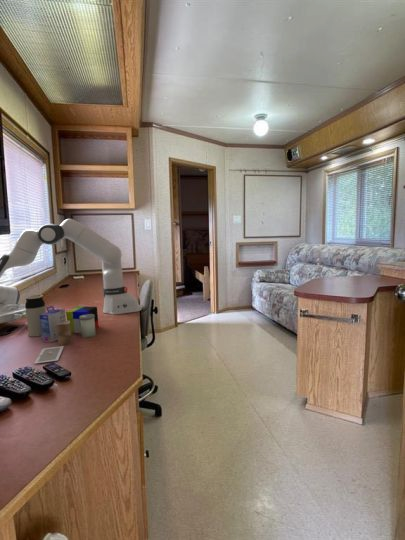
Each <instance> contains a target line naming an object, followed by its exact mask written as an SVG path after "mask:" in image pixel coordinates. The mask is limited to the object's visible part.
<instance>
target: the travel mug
mask: <svg viewBox="0 0 405 540" xmlns="http://www.w3.org/2000/svg"><path fill="white" fill-rule="evenodd" d="M43 298H44V295H43V294H33V295H28V296H25V297H24V299H25V300H26V302H25V303H24V304H25V308H26V317H25V318H26V325H27V332H28V334H27V335H28V336H30V337H40V336H42V330H41V323H40V316H39V315H41V314H44V313H46V311H47V309H46V303H45V302H46V301H44V299H43Z"/></svg>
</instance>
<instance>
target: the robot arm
mask: <svg viewBox="0 0 405 540" xmlns="http://www.w3.org/2000/svg"><path fill="white" fill-rule="evenodd" d="M63 239H67V240H69V241H71V242H72V243H74V244H76V245H77V246H78V247H81V248H82V249H84V250H86V251H87V252H88V253H89V254H92V255H93V256H95V257H96V258H98V259H99V260H101V269H102V280H103V281H102V282H103V289H102V293H103V301H104V302H103V309H102V312H103V313H104V314H108V315H115V316H116V315H121V314H127V313H129V314H130V313H136V312H140V311H142V310H143V305H141V304H139V302H138V299H137V298H136V296H134V295H132V294H131V293H130V292H128V286H125V285H124V275H123V267H122V266H123V265H122V255H123V254H122V251H121V249H120V248H119V246H117V245H115V244H114V243H112V242H111V241H109V240H108V239H106V238H105V237H103V236H102V235H101V234H98V232H96V231H94V230H92V229H90V228H89V227H88V226H86V225H84V223H81V222H79V221H78V220H77V221H76V220H75V219H73V218H67V219H66V218H65V220H63V221H62V222H61V223H60V224H54V223H45V224H43V225H42V226H40V227H39V229H38V230H35V229H31V228H29V229H28V228H27V229H25V230H23V231H22V232H21V234H20V235H19V237H18V238H17V240H16V242H15V244H14V246H13V248H12V249H11V250H10V251H9V252H8V253H6V254H5V253H4V254H3V255H2V256H1V257H0V279H1V278H2V276H3V275H4V273H5V272H6V271H7V270H10V269H12V268H16V267H25V266H29V265H30V264H32V263H33V262H34V261H35V259H36V257H37V255H38V253H39V250H40V248H41V246H42V245H52V246H53V245H56V244H58V243H60V242H61V241H62V240H63ZM20 298H21V294H20V291H19V289H18V288H17V287H16V286H11V285H8V284H7V285H6V284H0V324H3V323H6V322H7V323H13V322H16V321H17V320H19V319H20V320H22V319H25V318H27V317H26V308H25V304H26V303H19V302H20Z"/></svg>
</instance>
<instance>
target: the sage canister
mask: <svg viewBox="0 0 405 540" xmlns="http://www.w3.org/2000/svg"><path fill="white" fill-rule="evenodd" d="M94 318H95V315H94V314H85V315H81V316H80V317H79V319H80V324H81V333H80V334H81V337H82V338H91V337H94V336H96V328H95V321H94Z"/></svg>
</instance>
